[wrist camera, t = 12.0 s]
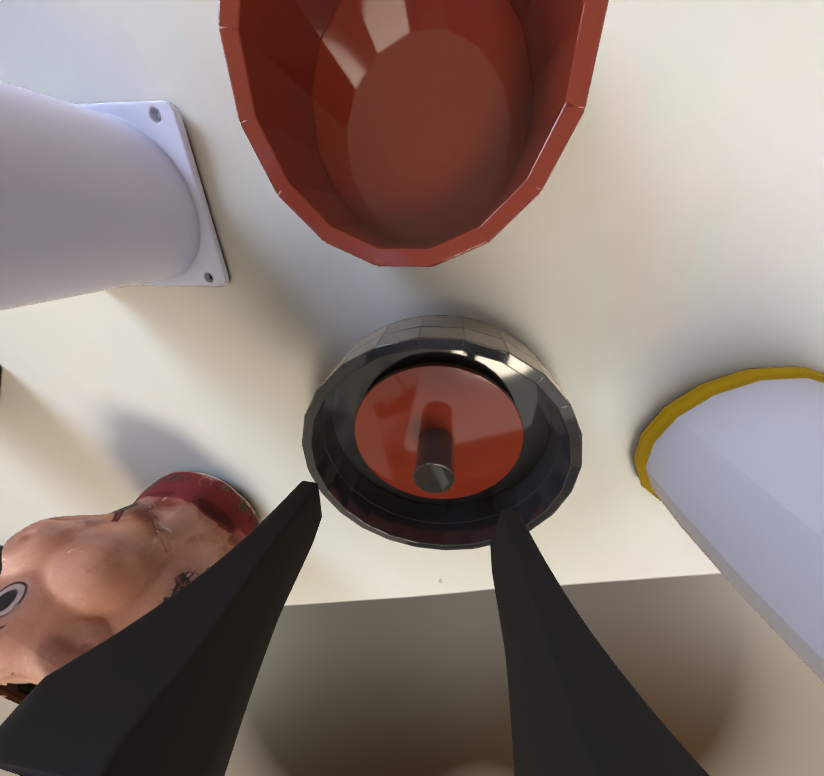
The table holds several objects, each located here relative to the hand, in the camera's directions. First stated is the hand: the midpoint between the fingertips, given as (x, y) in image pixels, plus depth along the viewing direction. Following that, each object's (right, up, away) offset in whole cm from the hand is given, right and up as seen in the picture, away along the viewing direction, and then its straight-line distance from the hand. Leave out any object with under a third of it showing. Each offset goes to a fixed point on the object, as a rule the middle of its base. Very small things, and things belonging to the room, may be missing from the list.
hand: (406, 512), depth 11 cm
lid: (+2, +2, +8) cm, 9 cm away
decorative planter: (-18, -8, +18) cm, 27 cm away
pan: (+2, +2, +9) cm, 10 cm away
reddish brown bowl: (+1, +17, +1) cm, 17 cm away
